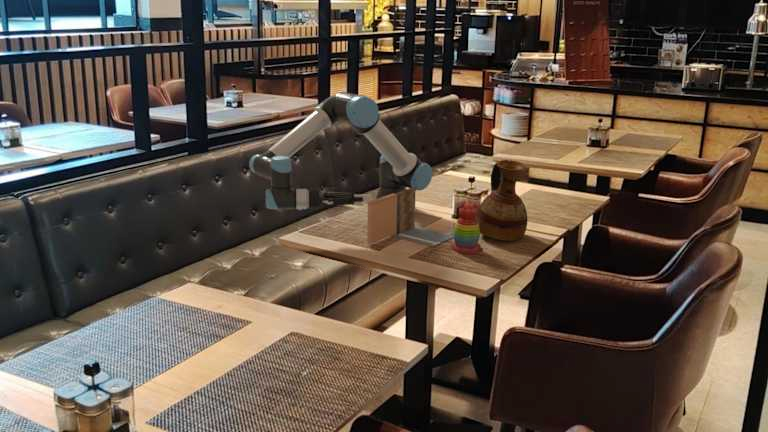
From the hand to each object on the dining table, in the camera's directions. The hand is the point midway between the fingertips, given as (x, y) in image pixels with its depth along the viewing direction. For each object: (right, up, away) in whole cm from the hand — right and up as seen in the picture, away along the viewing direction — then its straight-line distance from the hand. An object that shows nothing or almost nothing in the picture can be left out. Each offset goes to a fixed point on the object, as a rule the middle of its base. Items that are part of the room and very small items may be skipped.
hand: (371, 198), depth 277 cm
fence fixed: (+13, -12, +13) cm, 22 cm away
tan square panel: (+4, -15, +2) cm, 16 cm away
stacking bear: (+35, -19, -6) cm, 40 cm away
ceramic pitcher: (+50, -15, +9) cm, 53 cm away
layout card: (+19, -14, +8) cm, 25 cm away
